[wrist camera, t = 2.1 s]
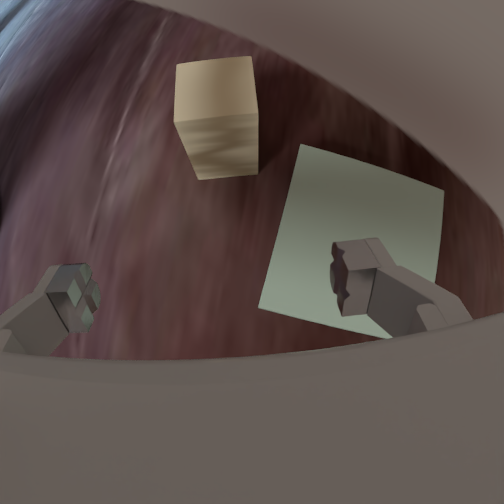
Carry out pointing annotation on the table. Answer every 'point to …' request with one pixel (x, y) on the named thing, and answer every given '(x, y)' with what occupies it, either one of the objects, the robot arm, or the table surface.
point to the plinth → (346, 233)
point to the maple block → (218, 116)
